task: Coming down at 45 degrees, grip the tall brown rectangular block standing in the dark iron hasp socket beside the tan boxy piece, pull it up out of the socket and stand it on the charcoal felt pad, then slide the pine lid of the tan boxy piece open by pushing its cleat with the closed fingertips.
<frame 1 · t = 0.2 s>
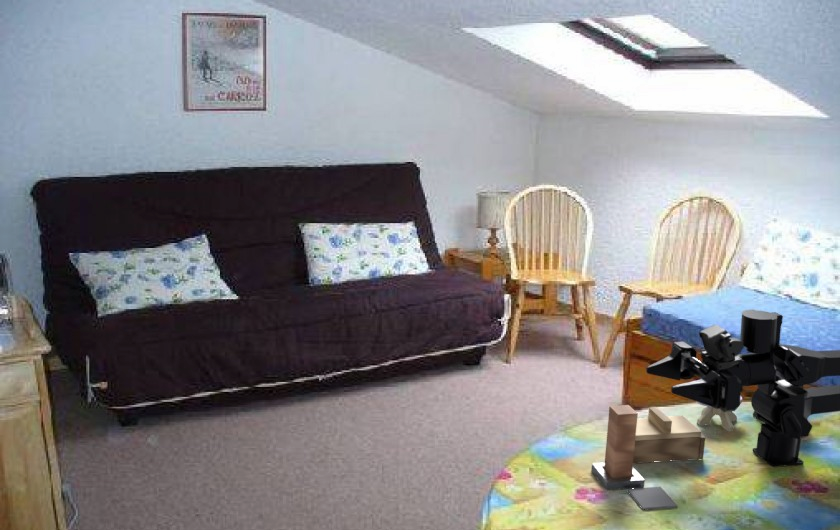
hand: (658, 379, 136), 17 cm above the table, tool horizontal, fingers open, 9 cm apart
tan boxy piece: (656, 452, 146), on the table
felt pad: (651, 499, 129), on the table
toy table: (715, 423, 159), on the table
brown rectangular block: (620, 444, 134), in the hasp socket
hasp socket: (617, 479, 135), on the table
phone stand: (779, 424, 160), on the table
lid: (659, 422, 144), point 6 cm above the table, slide at 0.0 cm
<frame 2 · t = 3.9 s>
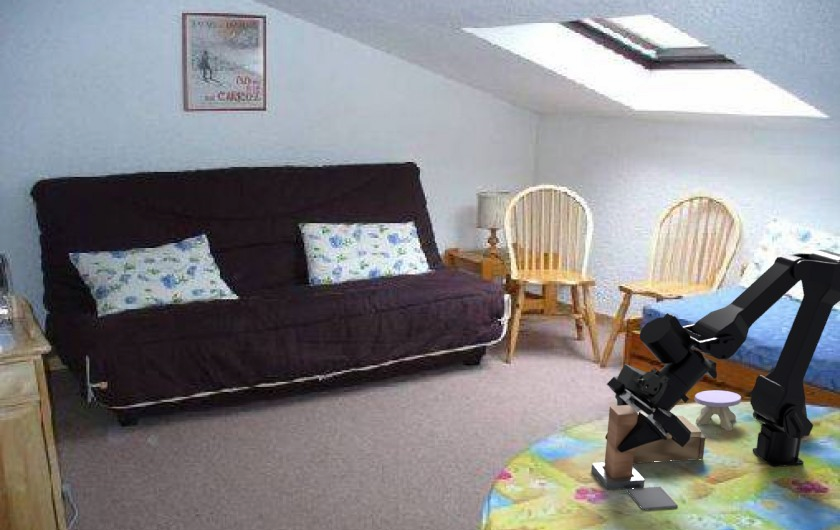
hand: (612, 445, 133), 7 cm above the table, tool tilted 45°, fingers closed on brown rectangular block, 4 cm apart
brown rectangular block: (620, 444, 134), in the hasp socket, touching gripper
everything else where it was.
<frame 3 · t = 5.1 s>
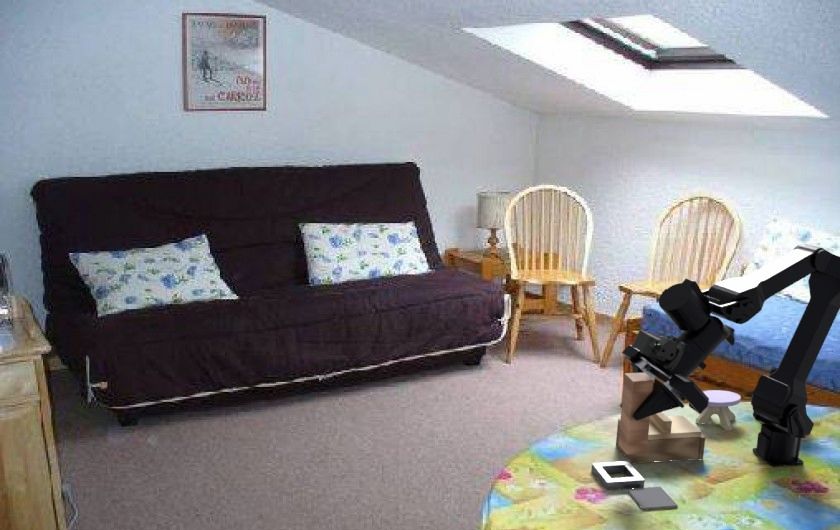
hand: (628, 413, 130), 13 cm above the table, tool tilted 45°, fingers closed on brown rectangular block, 4 cm apart
brown rectangular block: (635, 413, 130), point 13 cm above the table, touching gripper
everything else where it was.
when the fingers open (8 cm above the table, at t = 6.6 s): brown rectangular block moves 1 cm, resting on felt pad.
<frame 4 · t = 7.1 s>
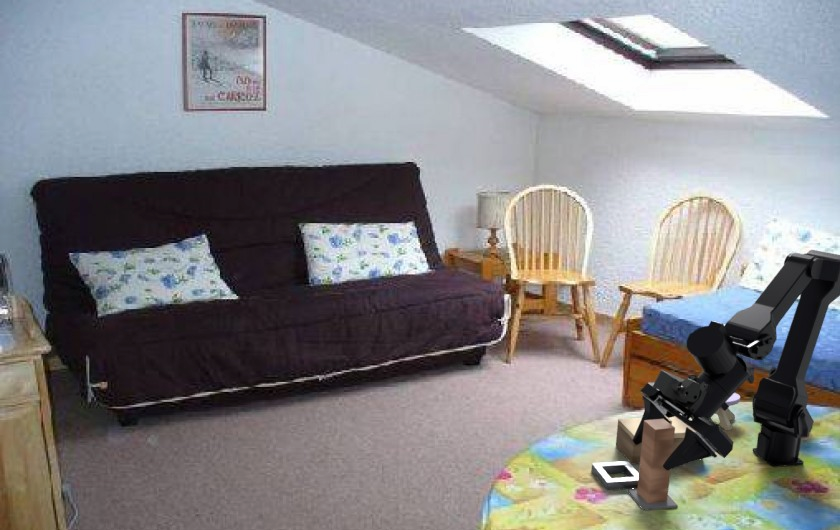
hand: (648, 455, 127), 8 cm above the table, tool tilted 45°, fingers open, 9 cm apart
brown rectangular block: (655, 460, 128), on the felt pad
everything else where it was.
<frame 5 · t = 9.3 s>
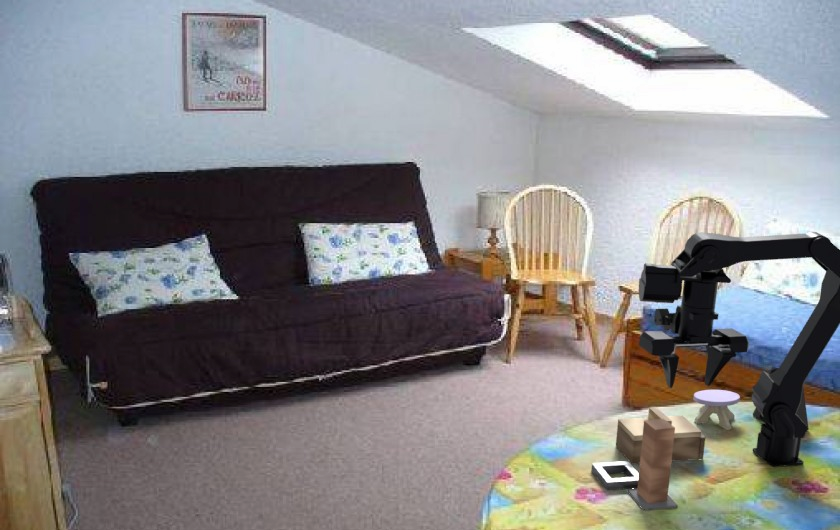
hand: (688, 386, 143), 13 cm above the table, tool pointing down, fingers open, 7 cm apart
nothing on the table moved.
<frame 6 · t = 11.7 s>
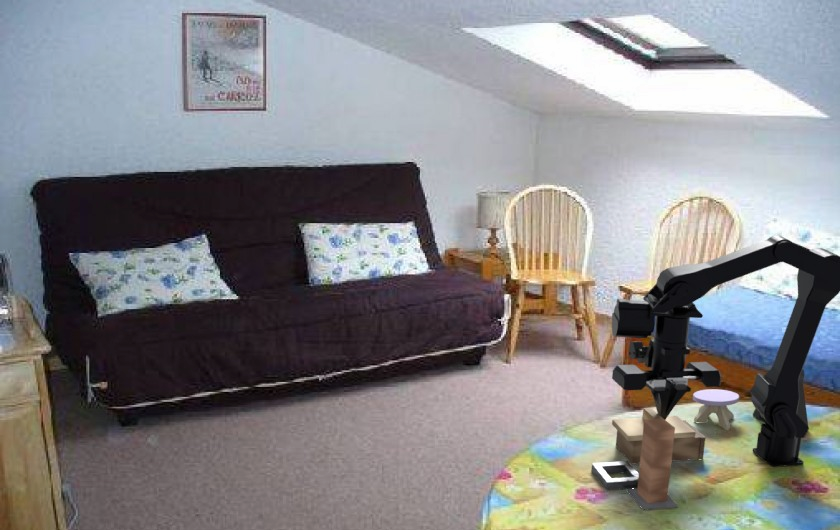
hand: (661, 419, 144), 7 cm above the table, tool pointing down, fingers closed
lid: (653, 422, 144), point 6 cm above the table, slide at 1.2 cm, touching gripper
everything else where it was.
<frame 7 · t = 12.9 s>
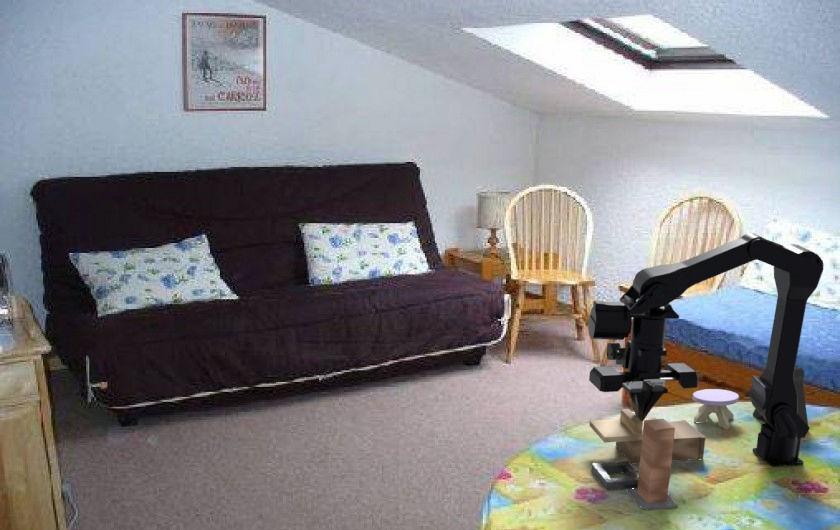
hand: (639, 420, 143), 7 cm above the table, tool pointing down, fingers closed
lid: (631, 423, 143), point 6 cm above the table, slide at 5.6 cm, touching gripper
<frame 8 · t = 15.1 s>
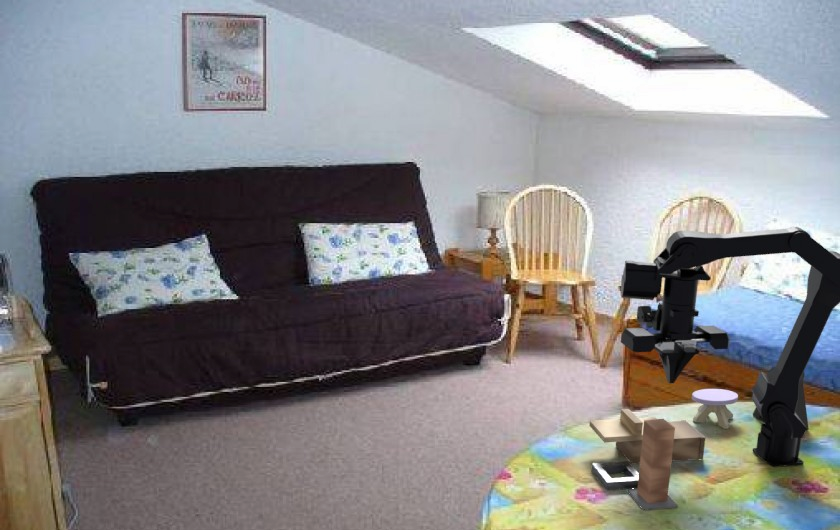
hand: (670, 382, 145), 13 cm above the table, tool pointing down, fingers closed
lid: (630, 423, 143), point 6 cm above the table, slide at 5.6 cm
at the end: brown rectangular block inside the target area (0.0 cm from its centre), resting on felt pad; brown rectangular block tilted 0°; lid slide at 5.6 cm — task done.
